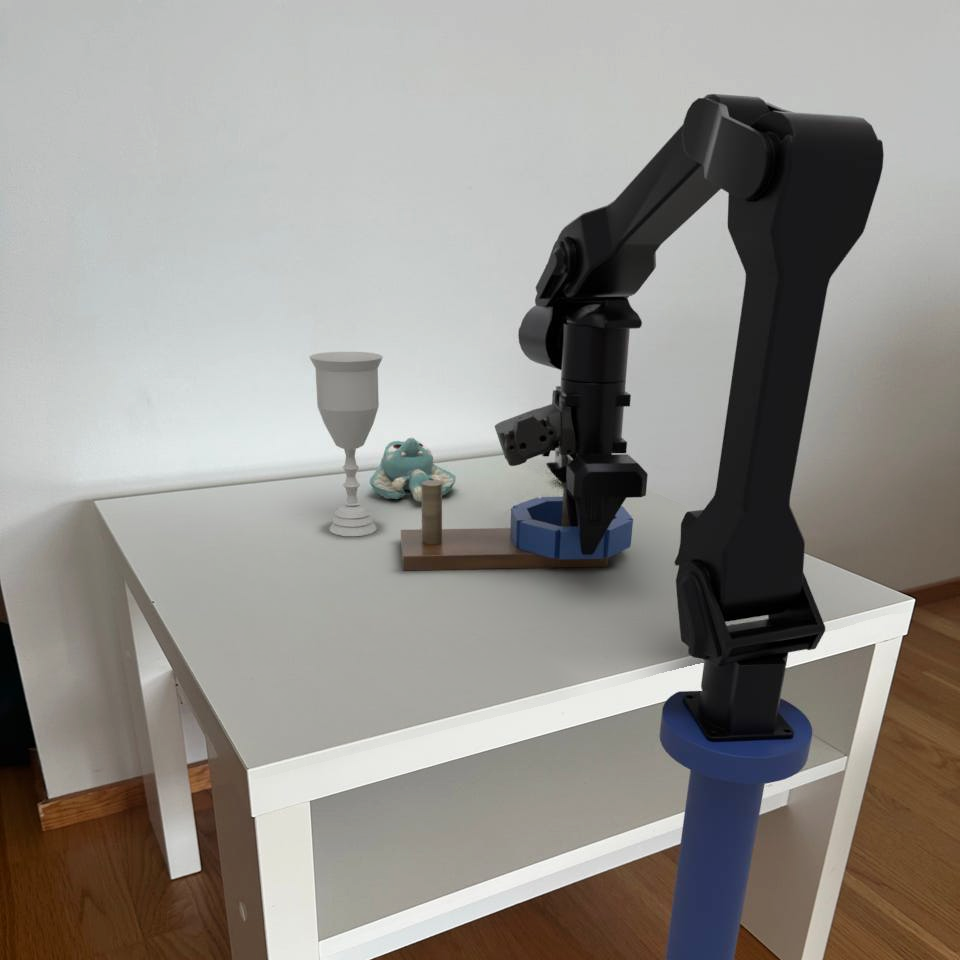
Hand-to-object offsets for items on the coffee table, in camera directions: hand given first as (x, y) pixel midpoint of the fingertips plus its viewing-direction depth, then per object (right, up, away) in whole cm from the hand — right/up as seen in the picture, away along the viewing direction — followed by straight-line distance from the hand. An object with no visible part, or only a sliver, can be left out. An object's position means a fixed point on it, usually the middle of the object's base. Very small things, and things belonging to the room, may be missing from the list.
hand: (582, 547), depth 89 cm
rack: (-8, 0, +6) cm, 9 cm away
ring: (-1, +1, +6) cm, 6 cm away
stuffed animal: (-18, +9, +25) cm, 32 cm away
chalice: (-23, +3, +12) cm, 27 cm away
